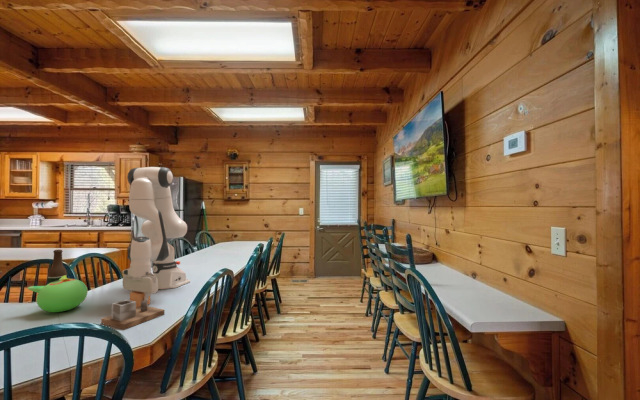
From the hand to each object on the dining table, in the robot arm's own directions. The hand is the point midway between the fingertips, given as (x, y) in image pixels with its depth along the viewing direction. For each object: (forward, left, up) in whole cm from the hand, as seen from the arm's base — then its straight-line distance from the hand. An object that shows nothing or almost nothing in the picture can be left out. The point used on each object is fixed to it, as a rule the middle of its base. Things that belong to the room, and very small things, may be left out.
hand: (140, 300), depth 148 cm
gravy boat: (+20, -24, -2) cm, 31 cm away
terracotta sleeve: (0, 0, -2) cm, 2 cm away
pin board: (+13, +14, -2) cm, 19 cm away
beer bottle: (+10, -48, -2) cm, 49 cm away
